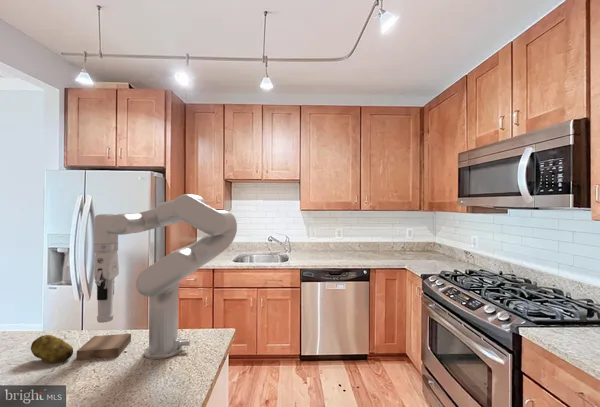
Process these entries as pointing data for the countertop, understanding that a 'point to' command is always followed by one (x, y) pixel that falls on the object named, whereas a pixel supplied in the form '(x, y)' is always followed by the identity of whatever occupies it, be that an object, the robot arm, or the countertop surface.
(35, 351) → the potato
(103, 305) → the bottle
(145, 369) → the countertop surface
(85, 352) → the walnut plinth
